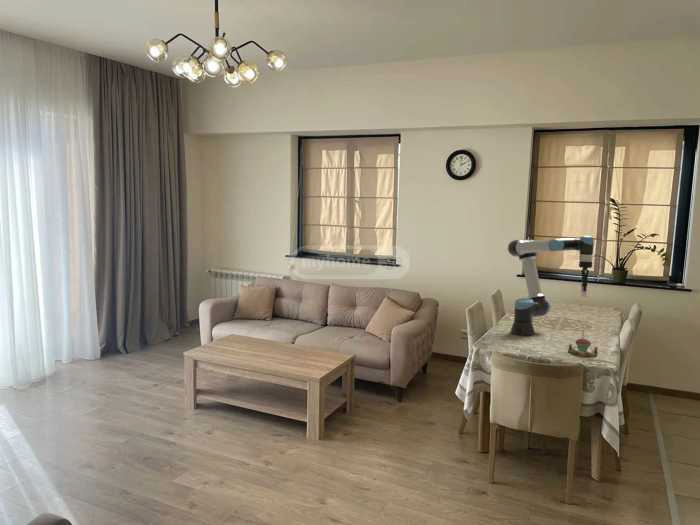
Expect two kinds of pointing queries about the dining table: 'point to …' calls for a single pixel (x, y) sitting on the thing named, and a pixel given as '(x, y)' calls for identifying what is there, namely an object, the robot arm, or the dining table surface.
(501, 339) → the dining table surface
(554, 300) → the dining table surface
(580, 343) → the cupcake
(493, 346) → the dining table surface
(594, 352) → the plate
